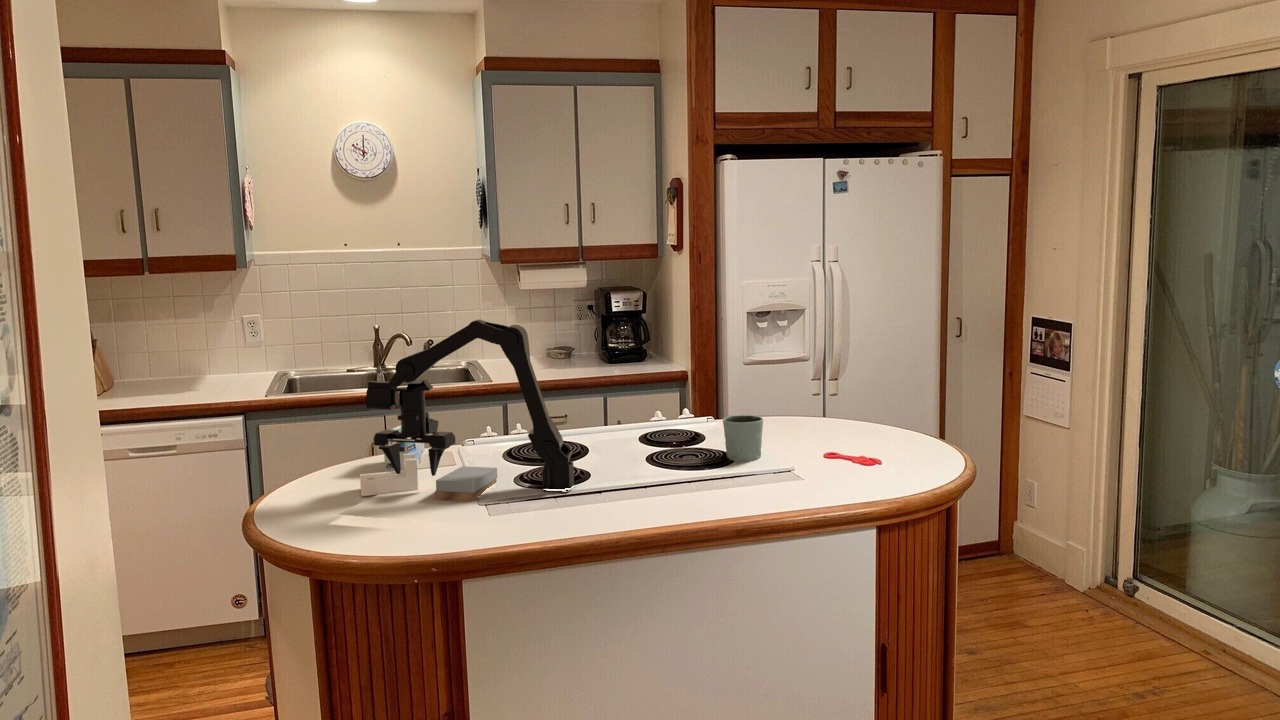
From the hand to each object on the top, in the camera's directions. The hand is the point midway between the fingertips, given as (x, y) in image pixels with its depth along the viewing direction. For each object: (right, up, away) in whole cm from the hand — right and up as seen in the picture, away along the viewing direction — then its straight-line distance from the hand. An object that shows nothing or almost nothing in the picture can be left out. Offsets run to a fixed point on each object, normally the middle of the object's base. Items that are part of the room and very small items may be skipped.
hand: (416, 474), depth 230 cm
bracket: (-7, -4, +2) cm, 8 cm away
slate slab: (+13, -2, -3) cm, 13 cm away
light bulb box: (-8, -1, +21) cm, 23 cm away
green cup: (+79, 0, +19) cm, 81 cm away
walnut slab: (+13, -4, -3) cm, 14 cm away
